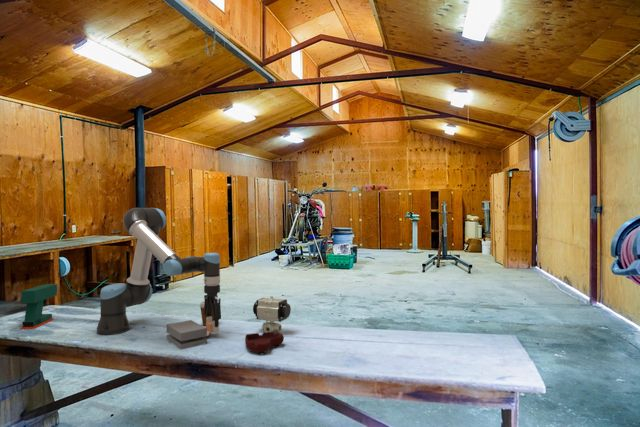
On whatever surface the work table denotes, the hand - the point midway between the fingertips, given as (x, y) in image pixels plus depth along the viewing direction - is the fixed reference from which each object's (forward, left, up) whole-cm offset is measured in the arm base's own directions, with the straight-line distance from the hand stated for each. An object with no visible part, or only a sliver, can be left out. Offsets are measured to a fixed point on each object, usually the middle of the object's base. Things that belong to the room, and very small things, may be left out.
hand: (212, 331), depth 195 cm
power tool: (-89, -60, -2) cm, 108 cm away
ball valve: (+14, +25, -2) cm, 29 cm away
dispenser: (0, -12, -2) cm, 13 cm away
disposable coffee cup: (-20, +7, -2) cm, 21 cm away
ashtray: (+31, +9, -3) cm, 32 cm away
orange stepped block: (0, -6, 0) cm, 6 cm away
